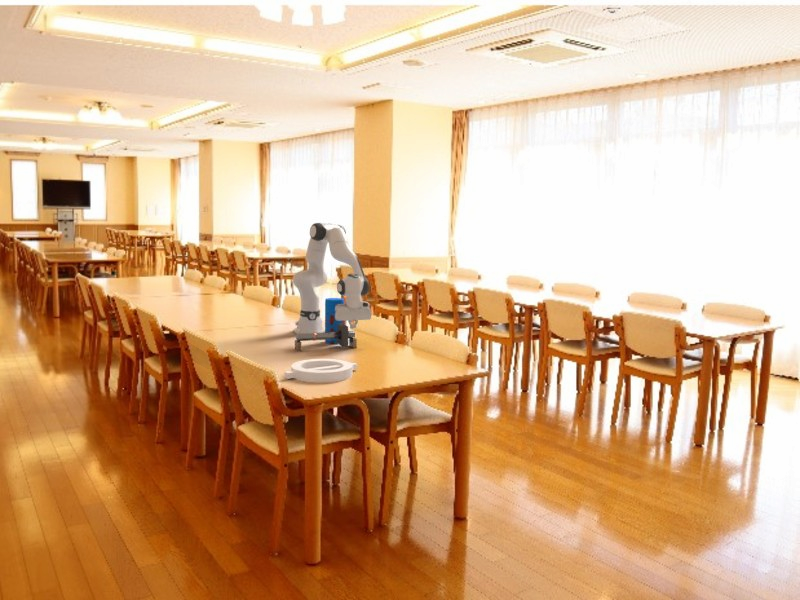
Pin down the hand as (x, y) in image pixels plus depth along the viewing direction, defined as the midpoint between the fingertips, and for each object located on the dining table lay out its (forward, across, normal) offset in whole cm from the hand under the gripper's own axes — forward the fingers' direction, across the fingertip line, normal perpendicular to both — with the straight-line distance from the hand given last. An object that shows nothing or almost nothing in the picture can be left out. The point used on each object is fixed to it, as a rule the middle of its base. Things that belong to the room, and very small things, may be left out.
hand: (353, 328), depth 370 cm
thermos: (+11, -6, +16) cm, 20 cm away
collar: (+9, -6, 0) cm, 11 cm away
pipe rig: (+11, -16, 0) cm, 19 cm away
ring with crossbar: (+11, -33, -57) cm, 67 cm away
